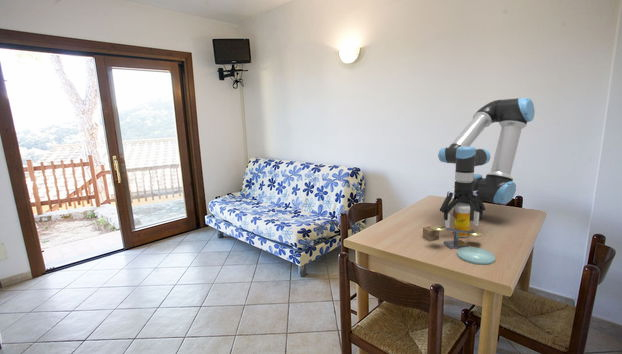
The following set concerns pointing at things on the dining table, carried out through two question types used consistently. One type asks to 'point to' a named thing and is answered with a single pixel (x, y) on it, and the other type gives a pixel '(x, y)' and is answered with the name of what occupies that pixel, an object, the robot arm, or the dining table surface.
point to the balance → (456, 236)
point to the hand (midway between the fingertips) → (461, 225)
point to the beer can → (462, 218)
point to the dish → (476, 255)
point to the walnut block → (430, 234)
